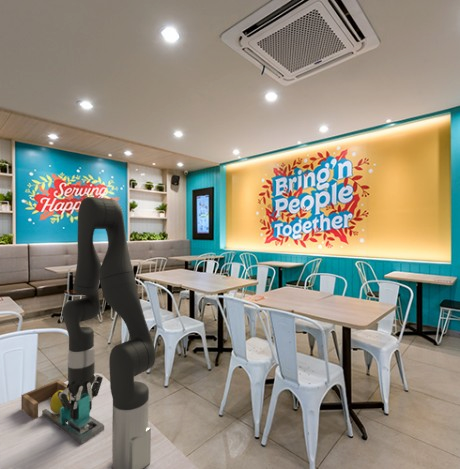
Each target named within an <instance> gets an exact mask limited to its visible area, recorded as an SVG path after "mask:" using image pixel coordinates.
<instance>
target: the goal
mask: <svg viewBox="0 0 460 469" xmlns="http://www.w3.org/2000/svg"><path fill="white" fill-rule="evenodd" d="M67 385H68V383H65V382H63V381H62V380H59V379H56V380H54V381H52V382H50V383H47V384H44V385H43V386H40V387H38V388H35V389H33V390H32V389H31V391H27V392H25V393H23V394H21V397H20V398H21V400H20V401H21V407H20V408H21V410H22V412H24V413H26V414H27V415H28V416H30V417H31V418H32V419H33V420H36V419H38V418H39V404H40V403H42V402H45V401H47V400H49V399H51V398H52V396H53V395H54V394H55V393H56V392H58V391H59V390H62V391H64V390H65V389H66V388H67ZM70 395H71V393H70V392H68V396H69V402H70Z"/></svg>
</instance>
